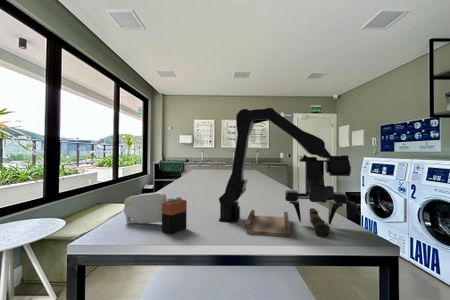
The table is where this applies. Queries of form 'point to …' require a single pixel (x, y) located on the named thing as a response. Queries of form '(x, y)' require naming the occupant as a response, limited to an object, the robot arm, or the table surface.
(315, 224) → the hand tool
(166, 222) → the battery
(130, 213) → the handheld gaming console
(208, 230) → the table surface
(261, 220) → the tool cradle
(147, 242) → the table surface
